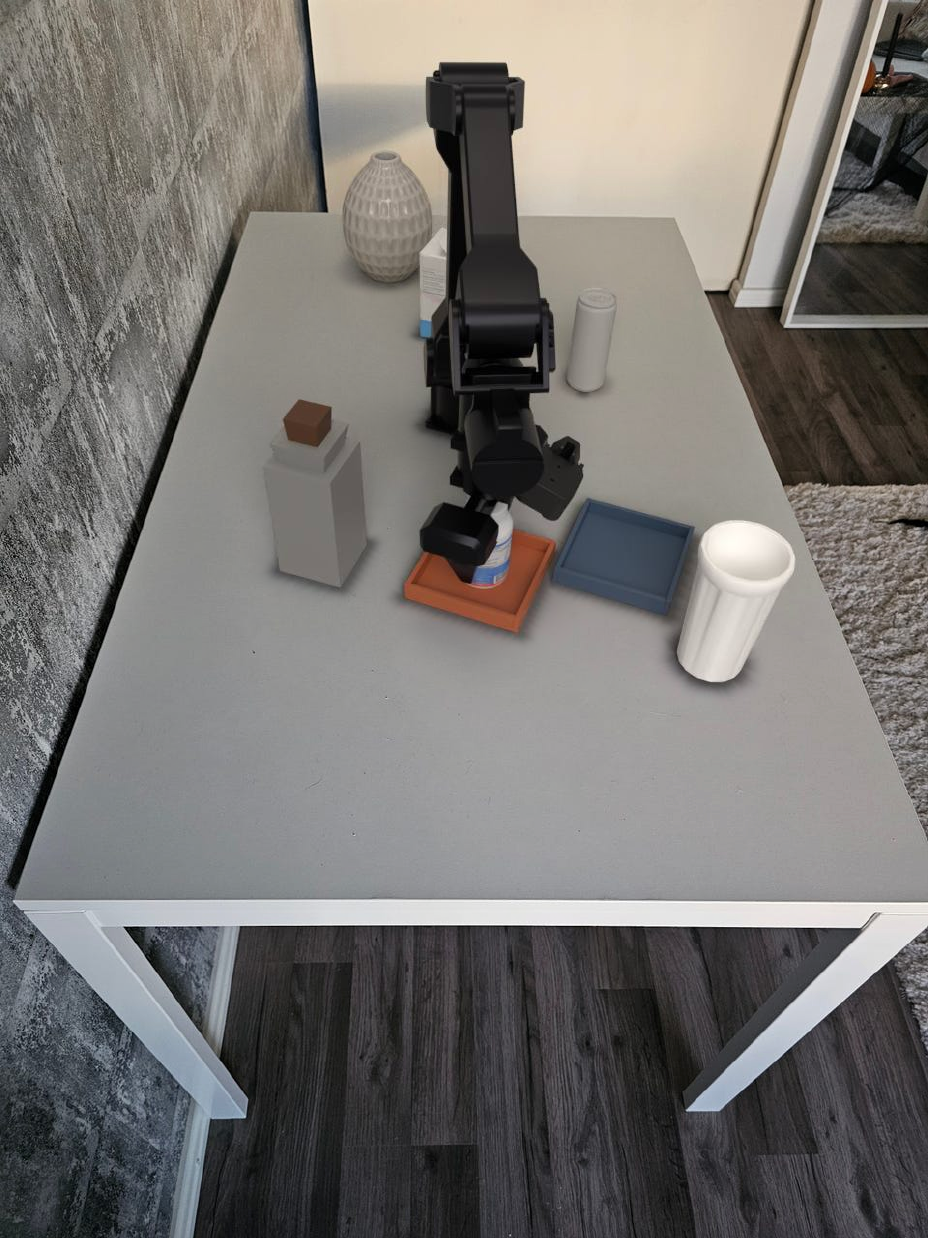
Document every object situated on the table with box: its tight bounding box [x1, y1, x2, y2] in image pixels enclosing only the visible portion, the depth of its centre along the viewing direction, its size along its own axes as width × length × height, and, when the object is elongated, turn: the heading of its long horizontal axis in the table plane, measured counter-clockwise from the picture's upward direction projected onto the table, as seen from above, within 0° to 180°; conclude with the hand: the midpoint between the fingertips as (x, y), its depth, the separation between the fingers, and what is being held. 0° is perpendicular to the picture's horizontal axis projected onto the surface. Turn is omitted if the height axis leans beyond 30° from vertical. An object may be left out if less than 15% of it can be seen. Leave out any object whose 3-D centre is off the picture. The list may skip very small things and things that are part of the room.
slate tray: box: [551, 497, 696, 616], centre depth 95 cm, size 12×12×2 cm
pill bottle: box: [465, 494, 514, 589], centre depth 90 cm, size 6×5×10 cm
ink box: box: [419, 227, 447, 338], centre depth 121 cm, size 9×8×13 cm
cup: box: [676, 519, 797, 683], centre depth 82 cm, size 8×8×14 cm
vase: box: [341, 150, 433, 284], centre depth 129 cm, size 13×13×17 cm
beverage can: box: [566, 286, 618, 393], centre depth 113 cm, size 5×5×12 cm
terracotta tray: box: [403, 528, 557, 634], centre depth 93 cm, size 12×12×2 cm
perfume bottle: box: [262, 399, 368, 588], centre depth 88 cm, size 7×7×18 cm
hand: (483, 551), depth 91 cm, fingers open, 9 cm apart
